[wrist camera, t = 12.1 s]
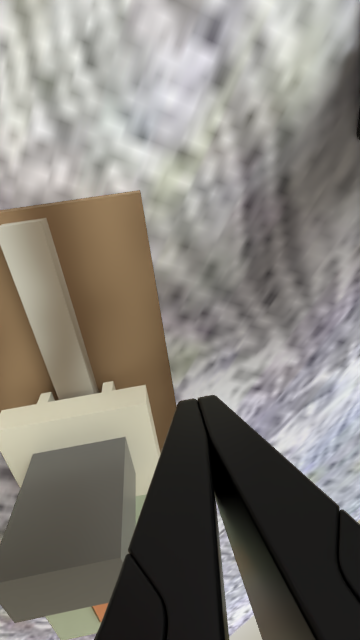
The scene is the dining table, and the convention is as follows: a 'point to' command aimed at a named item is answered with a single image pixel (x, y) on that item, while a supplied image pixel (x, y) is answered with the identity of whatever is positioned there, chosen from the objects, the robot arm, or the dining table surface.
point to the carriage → (73, 497)
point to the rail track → (81, 304)
